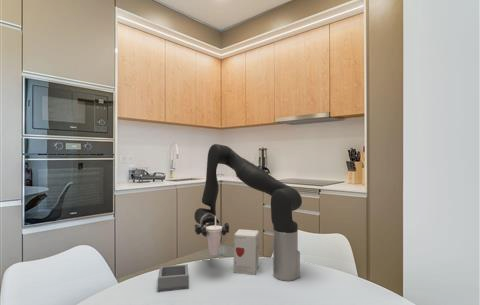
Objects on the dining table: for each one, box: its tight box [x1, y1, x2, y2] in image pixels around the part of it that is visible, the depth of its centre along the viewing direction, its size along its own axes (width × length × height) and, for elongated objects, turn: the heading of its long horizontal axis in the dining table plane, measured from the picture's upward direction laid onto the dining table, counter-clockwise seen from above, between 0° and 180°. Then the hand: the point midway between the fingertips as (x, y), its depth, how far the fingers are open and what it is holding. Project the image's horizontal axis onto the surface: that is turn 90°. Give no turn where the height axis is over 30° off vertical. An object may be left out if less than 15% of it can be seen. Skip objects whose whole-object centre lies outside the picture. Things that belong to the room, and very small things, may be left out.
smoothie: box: [206, 215, 222, 256], centre depth 98 cm, size 6×6×14 cm
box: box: [157, 263, 190, 293], centre depth 92 cm, size 10×10×4 cm
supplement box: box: [233, 228, 260, 276], centre depth 105 cm, size 9×9×15 cm
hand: (215, 233), depth 96 cm, fingers closed on smoothie, 6 cm apart
